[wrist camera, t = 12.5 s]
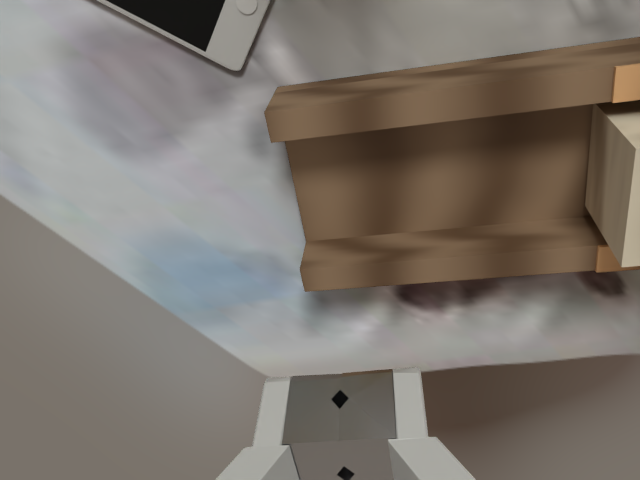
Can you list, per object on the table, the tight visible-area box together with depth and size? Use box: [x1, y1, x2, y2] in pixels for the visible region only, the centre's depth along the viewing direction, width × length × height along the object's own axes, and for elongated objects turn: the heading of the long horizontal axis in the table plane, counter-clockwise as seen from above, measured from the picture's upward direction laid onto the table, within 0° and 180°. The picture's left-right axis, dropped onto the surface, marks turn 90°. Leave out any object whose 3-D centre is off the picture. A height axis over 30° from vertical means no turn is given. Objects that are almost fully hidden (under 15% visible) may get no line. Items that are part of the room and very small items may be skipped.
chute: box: [264, 37, 640, 292], centre depth 31 cm, size 22×11×4 cm, turn 99°
